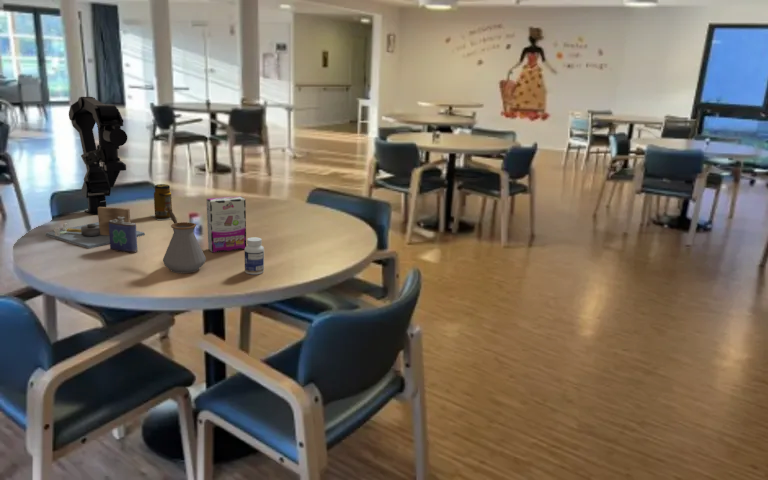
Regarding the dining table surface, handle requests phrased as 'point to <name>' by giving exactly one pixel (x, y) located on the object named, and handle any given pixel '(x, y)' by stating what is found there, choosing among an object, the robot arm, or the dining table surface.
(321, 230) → the dining table surface
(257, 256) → the pill bottle
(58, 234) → the stand
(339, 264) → the dining table surface
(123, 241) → the flask
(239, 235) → the candy bar box
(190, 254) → the coffee pot
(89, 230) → the brown piece
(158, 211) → the condiment
